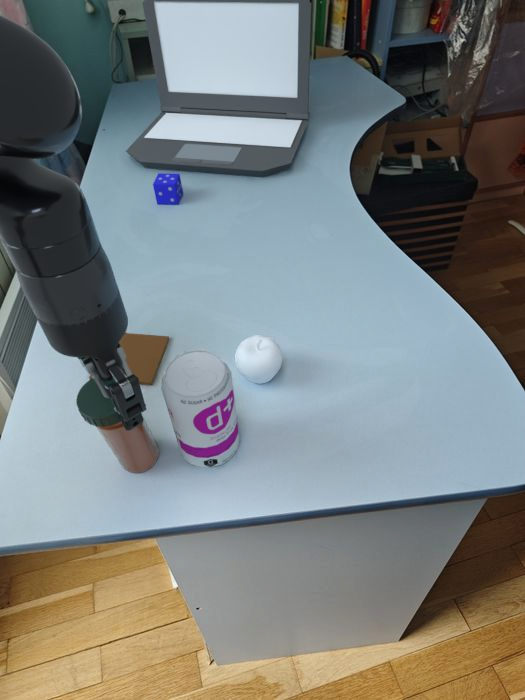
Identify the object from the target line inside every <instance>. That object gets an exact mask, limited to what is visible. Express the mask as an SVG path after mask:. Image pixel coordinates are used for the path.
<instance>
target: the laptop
mask: <svg viewBox="0 0 525 700" xmlns="http://www.w3.org/2000/svg"><path fill="white" fill-rule="evenodd" d="M312 5H313V4H312V2H311V1H310V0H143V1H142V9H143V14H144V20H145V24H146V31H147V37H148V42H149V47H150V53H151V58H152V64H153V69H154V76H155V80H156V86H157V91H158V97H159V98H158V99H159V103H160V108H159V109H160V111H161V112H160V114H158V115H157V117H155V118H154V120H153V121H152V122H151V123H149V125H148V126H147V127H146V128H145V130H144V131H143V132H142V133H141V134H140V135H139V136H138V137H137V138H136V139H135V141H133V142H132V143H131V145H130V146H129V147H128V148H127V149H126V150H125V153H127V154H128V155H129V156H130V157H131V158H133V159H134V161H136V162H137V163H138V164H140V165H141V167H143V168H145V169H155V170H156V169H157V170H169V171H182V172H192V173H193V172H194V173H197V172H198V173H205V174H206V173H209V174H210V173H211V174H219V175H231V176H232V175H233V176H246V177H258V178H265V177H269V176H272V175H275V174H279V173H282V172H285V171H286V170H287V169H288V168H289V167H290V165H291V164H292V162H293V160H294V157H295V154H296V152H297V149H298V147H299V145H300V143H301V140H302V138H303V135H304V133H305V130H306V128H307V126H308V123H309V121H310V112H309V104H310V99H309V98H310V69H311V38H312V37H311V35H312V8H313V7H312Z"/></svg>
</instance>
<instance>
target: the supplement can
mask: <svg viewBox="0 0 525 700" xmlns="http://www.w3.org/2000/svg"><path fill="white" fill-rule="evenodd" d="M160 388H161V389H160V390H161V392H162V396H163V398H164V402H165V405H166V409H167V412H168V416H169V418H170V422H171V425H172V428H173V432H174V435H175V438H176V442H177V445H178V448H179V451H180V454H181V456H182V457H183V458H184V459H185V461H187V462H188V463H189V464H191V465H193V466H195V467H198V468H209V469H210V468H214V467H218V466H221V465H224V464H225V463H226V462H228V461H230V460H231V459H232V458H233V456H234V455H235V454H236V453H237V452H238V449H239V446H240V443H241V440H240V429H239V422H238V420H239V419H238V413H237V406H236V405H237V404H236V398H235V391H234V383H233V374H232V371H231V370H230V367H229V366H228V364H227V363H226V362H225V361H224V360H223V359H222V358H221V357H220V356H219V355H217V354H216V353H215V352H214V351H210V350H207V349H191V350H187V351H184V352H182V353H180V354H177V355H176V356H175V357H173V358H172V359H171V360H170V361H169V362H168V364H167V365H166V367H165V369H164V374H163V376H162V378H161V387H160Z"/></svg>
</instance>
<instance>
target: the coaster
mask: <svg viewBox="0 0 525 700" xmlns="http://www.w3.org/2000/svg"><path fill="white" fill-rule="evenodd" d="M169 341H170V335H169V336H168V335H157V334H142V333H129V332H125V334H124V336H123V337H122V339H121V340H120V341H119V343H120V345H121V346H122V348H123V350H124V352H125V354H126V362H127V365H128V367H129V369H130V371H131V373H132V374H134V375H135V376H137V377H138V379H139V384H140V385H145V386H153V384H154V381H155V378H156V375H157V373H158V370H159V369H160V365H161V363H162V361H163V358H164V355H165V352H166V349H167V347H168V344H169ZM122 372H123V370H122ZM123 374H124V372H123ZM92 378H93V377H92V376H91V375H90V374H89V376H88V379H89V380H91V379H92Z"/></svg>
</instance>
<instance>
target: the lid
mask: <svg viewBox="0 0 525 700" xmlns="http://www.w3.org/2000/svg"><path fill="white" fill-rule="evenodd" d="M102 382H103V384H104V386H107V385H109V384H111V383H113V382H114V380H113V379H112V380H110V381H102ZM76 406H77V407H76V408H77V409H78V412H79V414H80V415H81V417H82V418H83V420H84V422H87V423H88V424H89V425H90V426H94V427H96V428H97V427H108V426H112V425H115V424H117V423H119V422H121V420H120V418H119V415H118V413H117V412H115V410H114V409H113V408H114V406H113V404H112V402H111V400H110V398H105V397H104V396H103V395H102V393H101V392H100V390H99V388H98V386H97V384H96V383H95V381H94V379H93V378H92V379H91V380H90V379H89V380H88V381H86V382H85V383H84V384H83V385H82V387H80V389H79V391H78V393H77V396H76Z"/></svg>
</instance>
